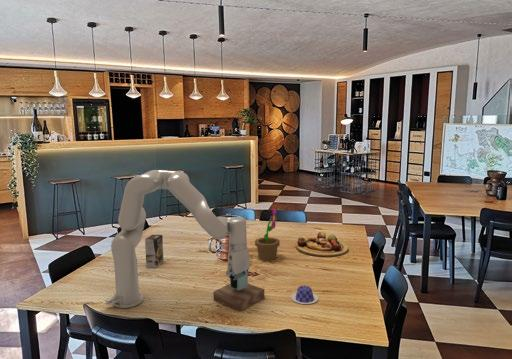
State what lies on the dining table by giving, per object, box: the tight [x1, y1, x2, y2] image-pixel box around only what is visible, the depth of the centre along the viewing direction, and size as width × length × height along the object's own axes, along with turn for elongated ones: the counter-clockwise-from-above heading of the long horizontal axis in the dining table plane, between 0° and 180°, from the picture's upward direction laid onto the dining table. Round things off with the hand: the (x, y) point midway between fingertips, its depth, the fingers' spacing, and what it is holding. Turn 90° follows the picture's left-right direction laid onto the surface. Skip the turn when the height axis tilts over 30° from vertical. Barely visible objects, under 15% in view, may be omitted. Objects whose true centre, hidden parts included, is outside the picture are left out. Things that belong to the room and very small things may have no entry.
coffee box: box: [144, 234, 165, 269], centre depth 208 cm, size 9×6×16 cm
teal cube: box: [229, 272, 249, 290], centre depth 167 cm, size 6×6×6 cm
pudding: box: [290, 285, 319, 305], centre depth 167 cm, size 12×12×5 cm
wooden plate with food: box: [295, 231, 349, 258], centre depth 232 cm, size 32×32×8 cm
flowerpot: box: [254, 208, 280, 262], centre depth 215 cm, size 14×14×30 cm
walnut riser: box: [213, 283, 265, 312], centre depth 168 cm, size 16×16×4 cm
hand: (238, 284), depth 167 cm, fingers closed on teal cube, 5 cm apart
